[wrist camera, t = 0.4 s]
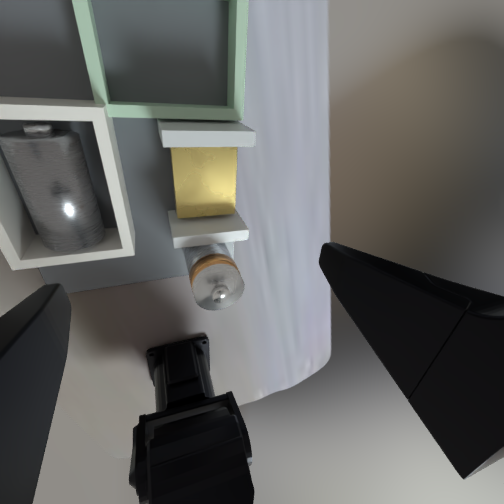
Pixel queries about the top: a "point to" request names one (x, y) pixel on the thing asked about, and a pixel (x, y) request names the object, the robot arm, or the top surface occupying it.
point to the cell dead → (55, 185)
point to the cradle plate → (204, 180)
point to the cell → (213, 276)
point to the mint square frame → (123, 123)
